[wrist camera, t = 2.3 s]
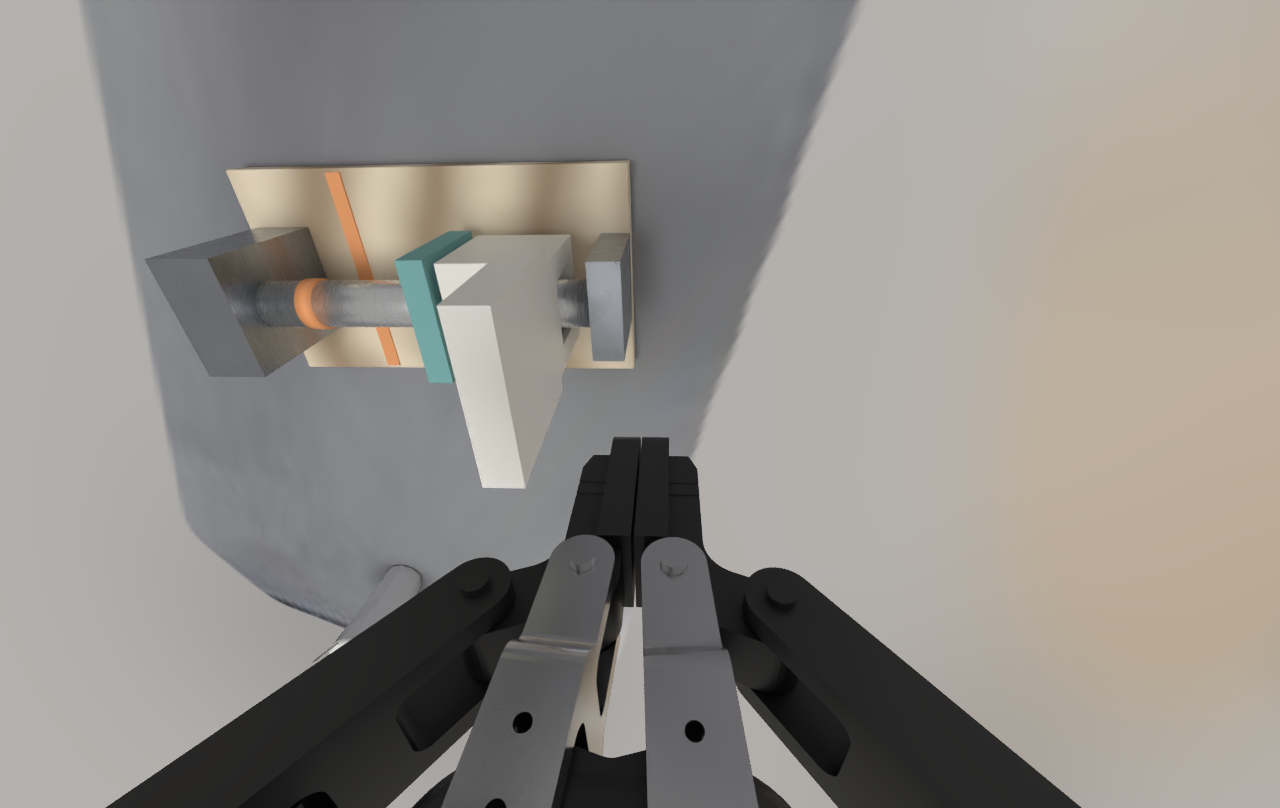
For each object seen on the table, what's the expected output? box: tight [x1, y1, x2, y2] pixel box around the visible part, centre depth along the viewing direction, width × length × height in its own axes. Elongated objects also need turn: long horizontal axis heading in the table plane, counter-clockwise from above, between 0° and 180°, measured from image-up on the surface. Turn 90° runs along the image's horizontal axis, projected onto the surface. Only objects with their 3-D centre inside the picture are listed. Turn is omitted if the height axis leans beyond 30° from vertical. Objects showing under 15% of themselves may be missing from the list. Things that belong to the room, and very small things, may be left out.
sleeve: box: [434, 234, 580, 488], centre depth 21 cm, size 5×7×13 cm
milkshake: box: [313, 565, 421, 662], centre depth 41 cm, size 4×5×10 cm
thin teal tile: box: [394, 231, 473, 383], centre depth 24 cm, size 1×6×6 cm, turn 1°
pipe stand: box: [145, 160, 635, 377], centre depth 26 cm, size 22×12×8 cm, turn 91°
